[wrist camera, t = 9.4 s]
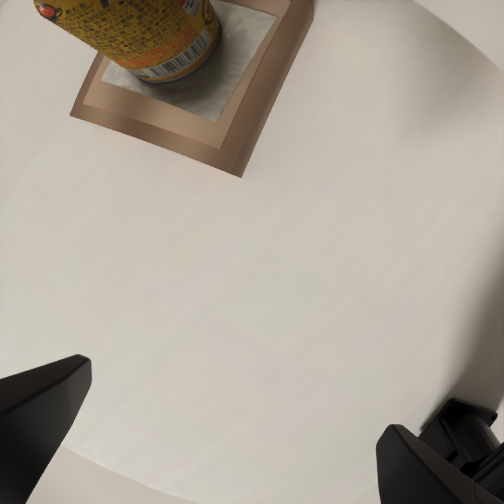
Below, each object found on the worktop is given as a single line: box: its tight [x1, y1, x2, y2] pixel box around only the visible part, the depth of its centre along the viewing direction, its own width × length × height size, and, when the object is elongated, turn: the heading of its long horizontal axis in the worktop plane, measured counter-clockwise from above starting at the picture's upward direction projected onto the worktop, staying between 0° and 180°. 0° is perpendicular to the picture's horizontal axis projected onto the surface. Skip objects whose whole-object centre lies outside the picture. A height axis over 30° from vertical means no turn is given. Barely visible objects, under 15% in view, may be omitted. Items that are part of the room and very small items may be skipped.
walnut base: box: [69, 0, 313, 178], centre depth 17 cm, size 12×12×3 cm
